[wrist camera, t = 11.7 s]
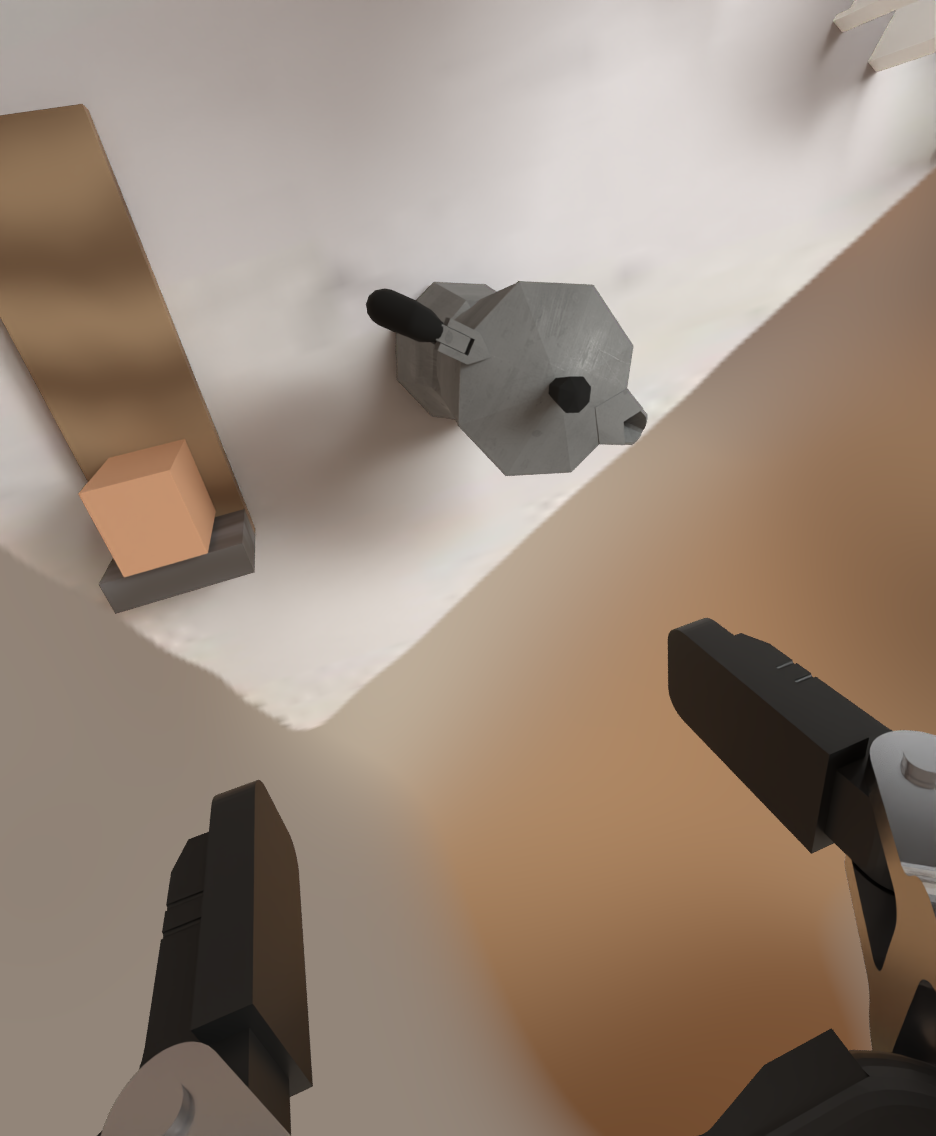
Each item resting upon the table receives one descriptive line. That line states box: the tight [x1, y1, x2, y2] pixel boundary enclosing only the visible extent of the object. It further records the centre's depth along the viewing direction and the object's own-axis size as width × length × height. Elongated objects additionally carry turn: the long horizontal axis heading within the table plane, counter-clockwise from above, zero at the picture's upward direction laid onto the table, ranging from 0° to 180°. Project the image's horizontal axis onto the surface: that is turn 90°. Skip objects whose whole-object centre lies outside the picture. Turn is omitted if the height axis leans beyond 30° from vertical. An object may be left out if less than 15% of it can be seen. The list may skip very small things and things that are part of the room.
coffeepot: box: [366, 281, 647, 476], centre depth 32 cm, size 15×9×18 cm, turn 65°
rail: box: [0, 104, 255, 614], centre depth 32 cm, size 24×8×7 cm, turn 11°
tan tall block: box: [78, 439, 216, 577], centre depth 34 cm, size 5×4×7 cm
